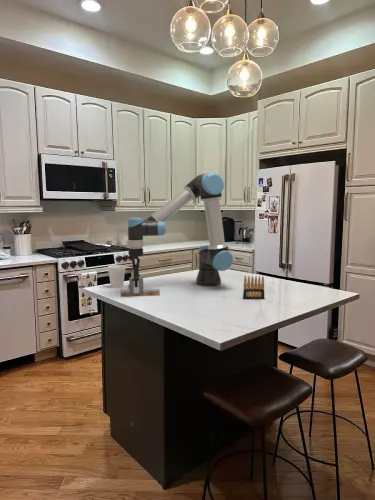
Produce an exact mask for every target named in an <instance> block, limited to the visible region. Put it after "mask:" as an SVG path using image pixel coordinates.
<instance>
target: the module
mask: <svg viewBox="0 0 375 500" xmlns="http://www.w3.org/2000/svg"><path fill="white" fill-rule="evenodd" d="M135 278H137V277H135ZM132 279H134V276H132V277H131V276H130V277H129V280H128V281H129V284H128V286H127V287H128V288H127V290H130V294H143V290H144V277H143V276H139V293H134V284H133V281H132Z"/></svg>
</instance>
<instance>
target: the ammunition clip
mask: <svg viewBox="0 0 375 500" xmlns="http://www.w3.org/2000/svg"><path fill="white" fill-rule="evenodd" d="M242 293H243V294H242V299H243V300H265V298H266V297H265V278H264V275H262V276H261V275H259V276H257V275H255V277H254V275H252V276H250V275H248V277H247V275H244V279H243V292H242Z"/></svg>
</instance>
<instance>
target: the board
mask: <svg viewBox="0 0 375 500" xmlns="http://www.w3.org/2000/svg"><path fill="white" fill-rule="evenodd" d="M157 296H161V292H160V293H143V294H121V293H120V297H121V298H125V297H126V298H129V297H157Z"/></svg>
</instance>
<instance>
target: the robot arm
mask: <svg viewBox="0 0 375 500" xmlns="http://www.w3.org/2000/svg"><path fill="white" fill-rule="evenodd" d="M224 186H225V182H224V179H223V178H222V176H221V175H220V174H218V173H216V172H207V173H202V174H198V175H196V176H195V177H194V178H193V179H192V180H190V181H189V182H188V183H187V184H186V185H184V186H183V189H182V190H181V191H179V193H177V194H176V195H175V196H174V197H172V198H171V199H169V201H167V202H166V203H165V204H164V205H162V206H161V207H160V208H158V209H157V210H156V211H154V212H153V214H151V215H149V216H148V217H147V218H146V219H143V218H142V217H129V218H128V220H127V236H128V240H127V241H126V243H127V244H128V249H127V250H128V251H127V252H128V253H127V254H128V256H129V257H133V258H132V259H131V263H132V268H133V277H134V279H132V281H133V284H134V293H139V277H141V274H140V272H139V270H140V262H141V258H140V257H141V256H144V249H143V247H144V237H148V236H149V237H152V236H153V237H154V236H156V237H157V236H158V237H159V236H164V235H165V234H166V231H167V226H166V223H165V222H166V221H167V220H169V219H170V218H171V217H173V216H175V214H177V212H179V211H180V210H181V209H182V208H184V207H185V206H186V205H187V204H189V203H190V202H191V201H195V200H197V199H198V198H200V200H201V201H202V202H203V205H204V213H205V219H206V228H207V234H208V242H209V245H200V246H199V249H198V272H197V275H196V279H195V284H196V285H199V286H205V287H207V286H213V287H214V286H219V285H221V284H222V279H221V275H220V272H225V271H227V270H229V269H230V268H231V266H232V264H233V262H234V257H233V254H232V253H231V252H230V251H229V246H228V244H227V243H226V242H225V235H224V225H223V217H222V210H221V203H220V202H221V201H220V200H221V199H222V197H223V194H222V191H223V189H224ZM219 271H220V272H219ZM135 277H137V278H135Z"/></svg>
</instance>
